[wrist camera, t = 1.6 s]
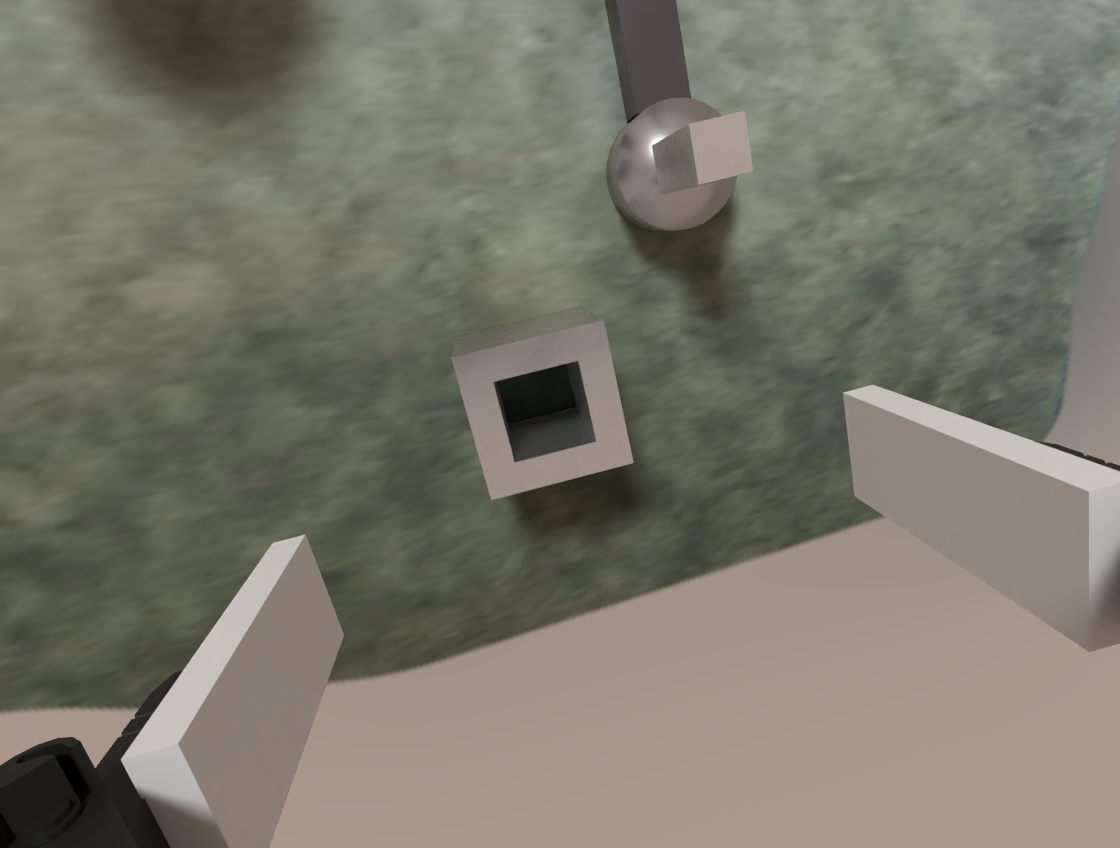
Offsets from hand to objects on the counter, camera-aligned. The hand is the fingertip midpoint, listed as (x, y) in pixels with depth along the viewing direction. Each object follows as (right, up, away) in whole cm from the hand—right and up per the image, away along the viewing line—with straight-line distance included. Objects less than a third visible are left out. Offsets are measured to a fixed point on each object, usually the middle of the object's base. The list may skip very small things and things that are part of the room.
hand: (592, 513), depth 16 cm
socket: (-2, +4, +16) cm, 17 cm away
